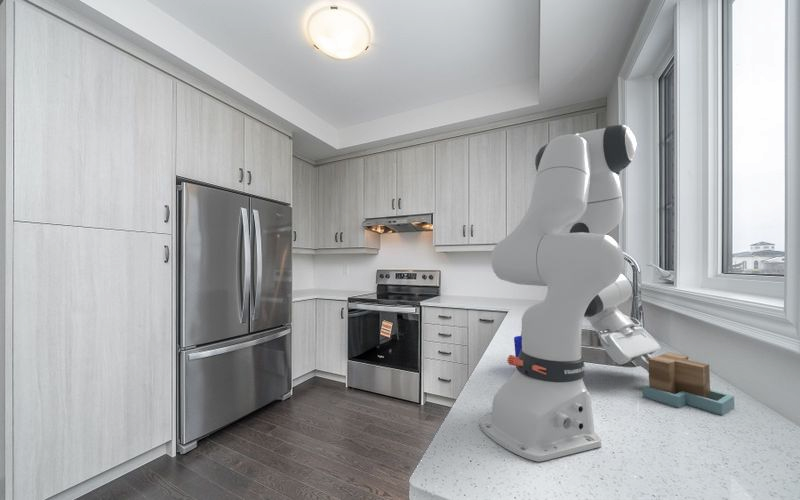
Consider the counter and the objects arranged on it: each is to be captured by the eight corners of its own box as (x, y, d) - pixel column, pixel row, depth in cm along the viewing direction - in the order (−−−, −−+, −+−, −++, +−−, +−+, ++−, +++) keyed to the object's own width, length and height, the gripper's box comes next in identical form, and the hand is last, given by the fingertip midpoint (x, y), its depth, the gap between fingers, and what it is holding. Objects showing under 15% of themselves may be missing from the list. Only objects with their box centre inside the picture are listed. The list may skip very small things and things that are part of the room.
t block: (697, 410, 68) (696, 370, 69) (649, 395, 76) (648, 359, 76) (716, 399, 74) (715, 361, 75) (669, 386, 82) (668, 352, 82)
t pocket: (715, 419, 64) (715, 407, 64) (642, 396, 75) (642, 386, 76) (740, 403, 72) (739, 392, 72) (670, 384, 83) (670, 374, 83)
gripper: (603, 325, 82) (648, 374, 73) (639, 318, 92) (682, 360, 83) (586, 338, 85) (627, 386, 76) (623, 330, 95) (662, 372, 87)
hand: (656, 372), depth 80 cm, fingers closed, pressing on t block
